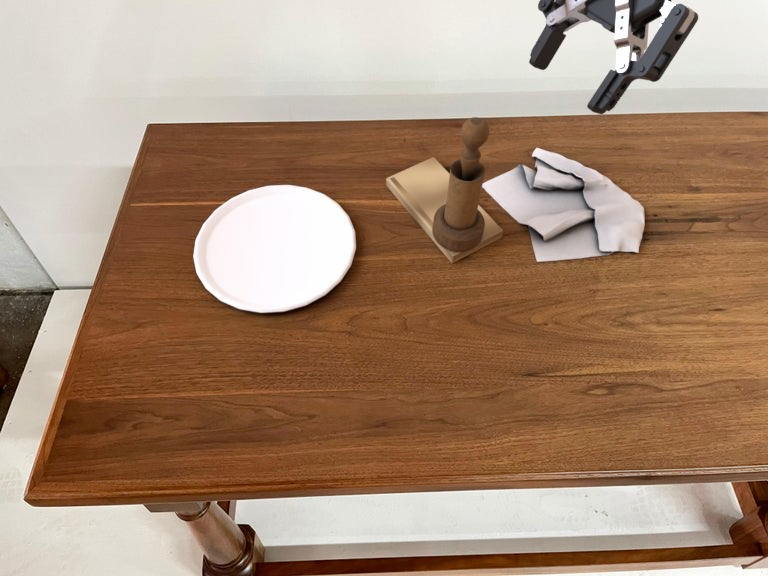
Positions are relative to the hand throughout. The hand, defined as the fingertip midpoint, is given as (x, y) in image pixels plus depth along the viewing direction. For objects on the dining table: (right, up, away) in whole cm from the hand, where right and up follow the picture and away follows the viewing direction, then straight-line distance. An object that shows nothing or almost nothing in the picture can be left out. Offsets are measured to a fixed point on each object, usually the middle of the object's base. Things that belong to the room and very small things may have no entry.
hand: (564, 88), depth 57 cm
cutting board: (-9, -9, +24) cm, 28 cm away
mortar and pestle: (-8, -12, +20) cm, 25 cm away
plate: (-31, -14, +21) cm, 40 cm away
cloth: (+7, -7, +25) cm, 27 cm away
